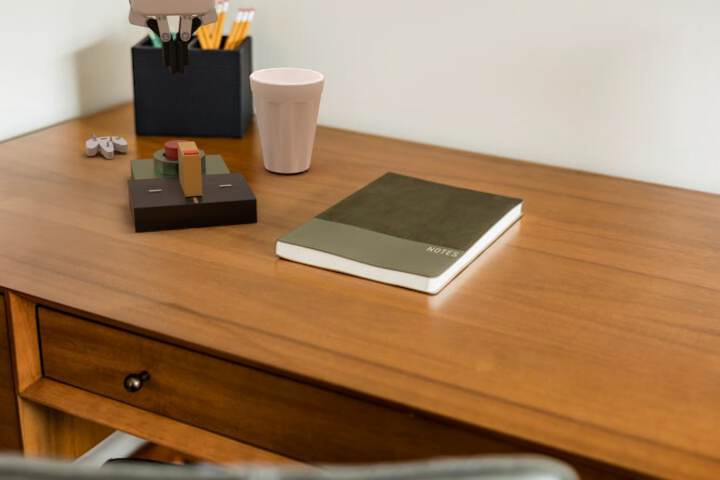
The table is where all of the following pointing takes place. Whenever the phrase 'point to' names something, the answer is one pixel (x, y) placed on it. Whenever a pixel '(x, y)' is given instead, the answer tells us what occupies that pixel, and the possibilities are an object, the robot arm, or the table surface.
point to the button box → (173, 166)
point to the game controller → (106, 146)
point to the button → (172, 149)
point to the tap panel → (191, 203)
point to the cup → (287, 115)
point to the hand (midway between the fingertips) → (176, 71)
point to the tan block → (190, 169)
